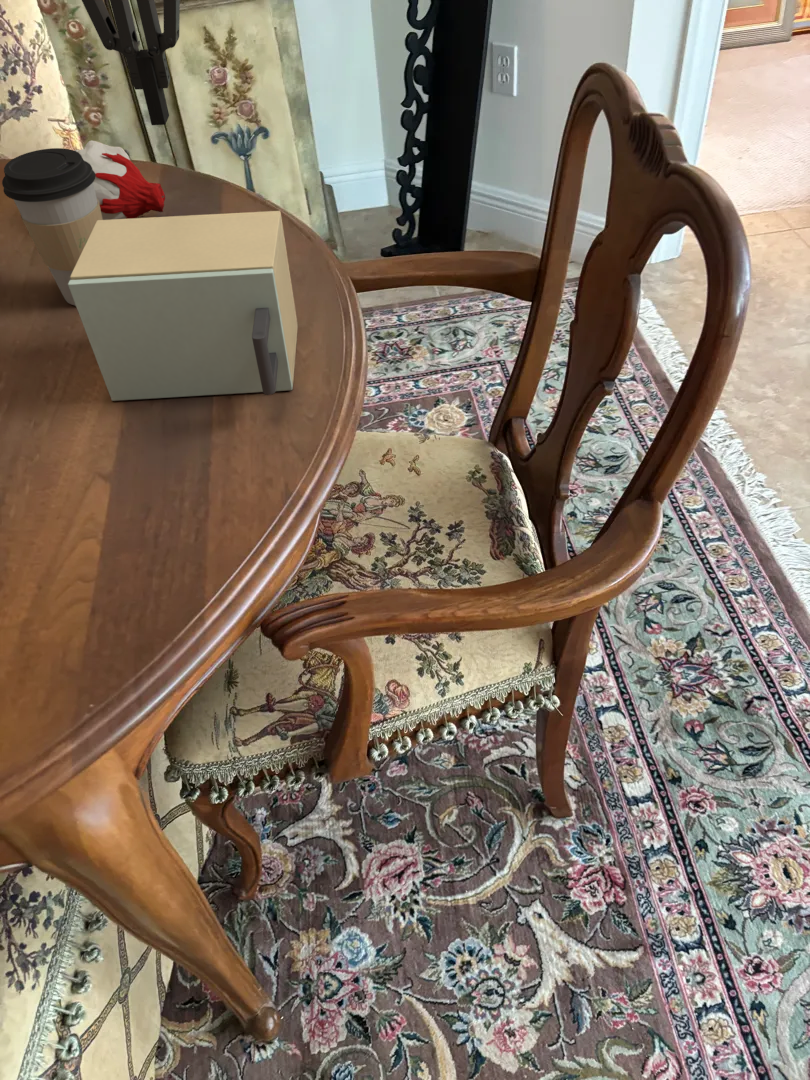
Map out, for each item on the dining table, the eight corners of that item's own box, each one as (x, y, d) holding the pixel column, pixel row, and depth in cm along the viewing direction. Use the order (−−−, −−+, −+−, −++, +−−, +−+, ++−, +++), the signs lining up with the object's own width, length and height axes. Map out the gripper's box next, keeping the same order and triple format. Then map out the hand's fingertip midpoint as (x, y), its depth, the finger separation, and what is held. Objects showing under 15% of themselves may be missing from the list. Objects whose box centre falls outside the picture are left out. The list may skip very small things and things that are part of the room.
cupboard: (293, 386, 79) (273, 265, 69) (114, 396, 79) (69, 276, 69) (297, 326, 86) (280, 210, 77) (134, 335, 86) (96, 219, 77)
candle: (84, 195, 110) (187, 213, 109) (46, 232, 102) (156, 252, 102) (70, 127, 103) (180, 146, 102) (28, 161, 96) (146, 182, 95)
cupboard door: (290, 422, 75) (269, 303, 65) (101, 434, 74) (52, 315, 65) (292, 385, 79) (273, 268, 69) (113, 396, 78) (69, 279, 69)
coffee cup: (127, 309, 90) (84, 176, 79) (43, 319, 89) (-13, 186, 78) (133, 269, 96) (93, 141, 85) (54, 278, 95) (4, 149, 84)
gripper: (174, -175, 71) (223, 105, 89) (30, -170, 71) (108, 110, 89) (160, -165, 66) (215, 131, 84) (5, -159, 66) (93, 135, 84)
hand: (160, 120), depth 86 cm, fingers closed
